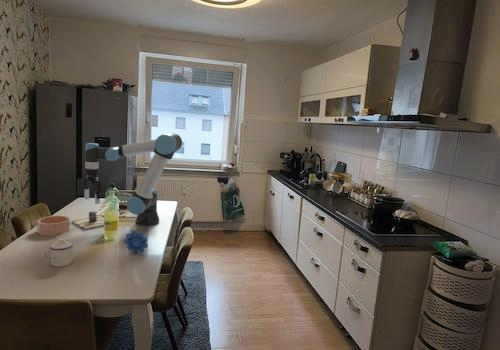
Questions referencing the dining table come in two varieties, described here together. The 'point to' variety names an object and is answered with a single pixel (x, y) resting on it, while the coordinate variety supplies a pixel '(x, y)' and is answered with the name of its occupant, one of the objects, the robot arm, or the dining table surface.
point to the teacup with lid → (60, 253)
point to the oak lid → (90, 221)
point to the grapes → (136, 241)
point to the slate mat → (83, 229)
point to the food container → (124, 196)
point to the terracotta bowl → (53, 225)
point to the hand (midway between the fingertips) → (92, 201)
